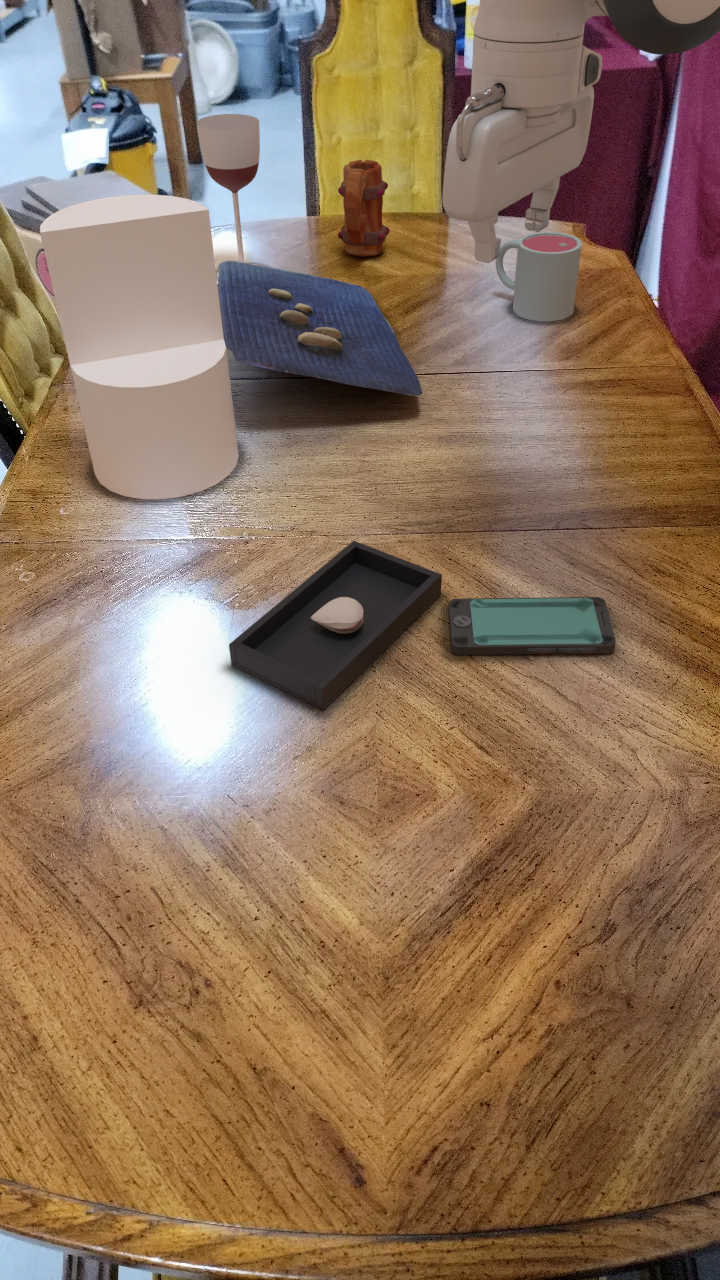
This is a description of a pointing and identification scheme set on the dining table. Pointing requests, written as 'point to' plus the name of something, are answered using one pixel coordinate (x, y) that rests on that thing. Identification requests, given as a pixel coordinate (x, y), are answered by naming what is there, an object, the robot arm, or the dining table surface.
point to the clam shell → (340, 615)
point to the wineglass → (231, 156)
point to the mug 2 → (543, 275)
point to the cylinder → (144, 341)
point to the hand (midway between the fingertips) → (512, 243)
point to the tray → (324, 659)
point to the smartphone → (530, 626)
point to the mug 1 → (363, 208)
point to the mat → (310, 328)
